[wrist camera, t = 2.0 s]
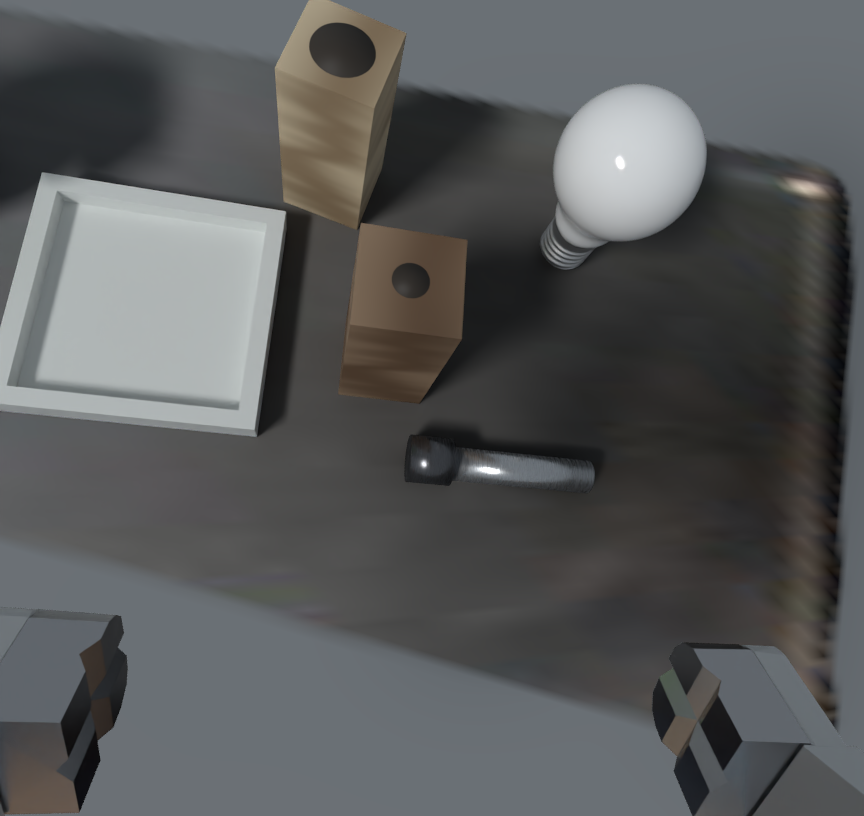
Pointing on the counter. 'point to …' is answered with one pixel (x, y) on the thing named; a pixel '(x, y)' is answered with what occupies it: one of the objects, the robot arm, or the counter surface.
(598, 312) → the counter surface
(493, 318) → the counter surface
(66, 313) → the tray
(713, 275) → the counter surface
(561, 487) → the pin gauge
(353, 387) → the block
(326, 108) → the block
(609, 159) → the lightbulb
